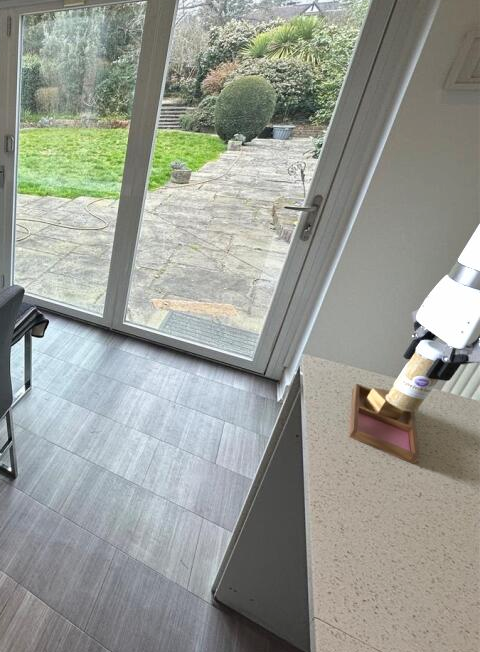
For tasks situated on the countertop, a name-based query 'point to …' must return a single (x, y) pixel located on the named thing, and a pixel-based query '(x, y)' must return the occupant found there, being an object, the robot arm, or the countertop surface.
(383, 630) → the countertop surface
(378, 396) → the oak block
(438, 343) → the sprinkles bottle
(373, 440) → the tray
